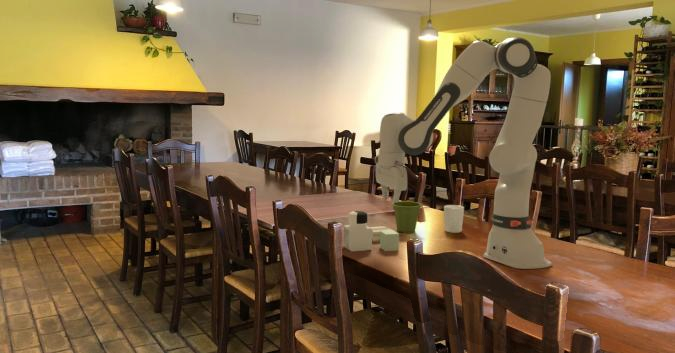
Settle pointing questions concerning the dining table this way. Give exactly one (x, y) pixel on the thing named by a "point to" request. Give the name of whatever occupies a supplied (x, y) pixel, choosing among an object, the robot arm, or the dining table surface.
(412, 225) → the plant pot
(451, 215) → the white cup
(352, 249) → the container
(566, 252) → the dining table surface
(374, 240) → the beech block
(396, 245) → the sage block
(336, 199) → the dining table surface
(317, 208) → the dining table surface
